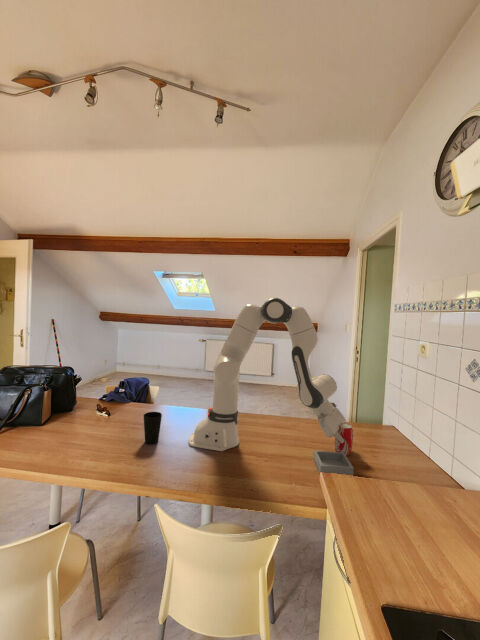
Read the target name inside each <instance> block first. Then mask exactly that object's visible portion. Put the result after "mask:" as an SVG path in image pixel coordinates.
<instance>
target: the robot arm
mask: <svg viewBox="0 0 480 640" xmlns="http://www.w3.org/2000/svg"><path fill="white" fill-rule="evenodd" d="M309 315H310V314H308V311H306V309H305V308H304V307H303V306H298V305H297V306H292V307H291V305H289V304H288V303H286V302H285V301H284V300H283V299H281V298H279V297H271V298H269V299H267V300H266V301H264V303H262V305H256V304H253V303H252V304H251V303H248V304H246V305H244V306H243V308H242V309H241V310H240V312H239V313H238V315H237V317H236V319H235V320H234V323H233V325H232V327H231V329H230V331H229V333H228V335H227V337H226V340H225V342H224V344H223V346H222V348H221V350H220V352H219V355H218V357H217V359H216V361H215V363H214V366H213V378H212V379H213V380H212V382H213V384H212V385H213V394H212V396H213V397H212V406H211V407H209V408H208V410H207V417H206V418H205V419H204V420H201V422H199V423H198V424H197V425H196V427H195V430H194V432H193V433H191V434H190V436H189V438H188V445H189V446H190V447H194V448H198V449H199V448H200V449H206V450H212V451H217V452H218V451H219V452H224V451H226V450H228V449H232V448H235V447H237V446H238V445H239V444H240V438H239V432H238V423H239V410H238V407H239V405H238V402H239V401H238V400H239V385H240V367H241V365H242V363H243V362H244V359H245V357H246V355H247V354H248V352H249V350H250V348H251V347H252V344H253V342H254V340H255V338H256V336H257V334H258V331H259V330H260V328H261V326H262V325H263V324H264V323H269V324H273V325H274V324H284V325H285V327H286V328H287V331H288V333H289V336H290V340H291V346H292V347H291V348H292V349H291V360H292V364H293V369H294V373H295V377H296V382H297V386H296V391H297V393H298V396H299V399H300V402H301V404H303V405H304V406H306V407H307V408H309V409H310V411H311V412H312V414H313V415H314V416H315V418H316V419H317V421H318V425H319V427H320V429H321V430H322V432H323V433H324V435H325V436H326V437H327V438H328V439H330V438H332V437H334V439H335V438H336V439H338V440H339V441H340V443H343V442H344V441H345V439H344V438H343V437H341V436H340V435H339V433H338V430H339V429H340V428H339V425H340V424H341V423H346V421H347V420H346V418H345V416H344V415H343V413H342V412H341V411H340V410H339V409H338V408H337V404H336V403H335V402H332V401H329V400H328V399H330V398H331V397H332V396H333V395H334V394H335V393H336V392H337V388H338V386H337V382H336V381H335V379H334V378H333V377H332V376H330V375H328V374H327V373H326V374H325V373H324V374H322V375H318V376H315V377H312V374H311V371H310V367H309V358H310V355H311V354H312V352H313V351H314V349H315V347H316V345H317V344H318V334H317V331H316V329H315V325H314V323H313V320H312V319H311V316H309Z"/></svg>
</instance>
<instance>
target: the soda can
mask: <svg viewBox="0 0 480 640" xmlns="http://www.w3.org/2000/svg"><path fill="white" fill-rule="evenodd" d="M339 428H340V429H339V430H338V433H339V435H340V436H341V437H343V438H344V439H345V441H344V442H343V443H340V441H339V440H338V439H336V438H335V437H334V450H335V451H334V452H344V454H345V455H346V457H348V456H350V455H351V454H352V453H353V452H352V451H353V444H354V443H353V442H354V429H353V426H352V425H351V424H349V423H346V422H345V423H341V424H340V425H339Z"/></svg>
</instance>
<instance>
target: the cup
mask: <svg viewBox="0 0 480 640" xmlns="http://www.w3.org/2000/svg"><path fill="white" fill-rule="evenodd" d="M162 416H163V414H162V413H161V412H159V411H150V412H146V413H144V414H143V424H144V425H143V431H144V444H146V445H147V446H148V445H149V446H150V445H151V446H152V445H153V446H154V445H157V444H158V443H159V440H160V439H159V438H160V432H161V431H160V430H161V423H162V418H163V417H162Z"/></svg>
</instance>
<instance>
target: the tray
mask: <svg viewBox="0 0 480 640" xmlns="http://www.w3.org/2000/svg"><path fill="white" fill-rule="evenodd" d="M313 461H314V463H315V466H316V468H317V471H318V474H319V473H320V472H324V473H337V474H346V475H353V476H354V471H355V470H354V469H355V468H354V466H353V464H352V463H351V461H350V460H349V458H348V456H346V455H345V454H344V452H336V451H330V450H329V451H328V450H317V449H316V450H313Z"/></svg>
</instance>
